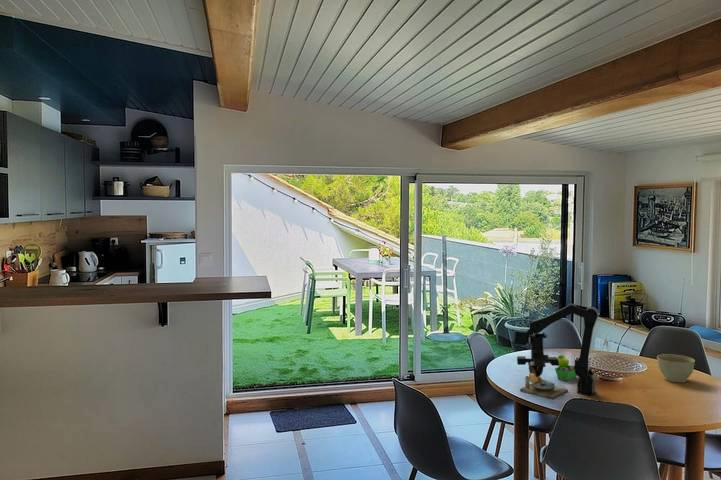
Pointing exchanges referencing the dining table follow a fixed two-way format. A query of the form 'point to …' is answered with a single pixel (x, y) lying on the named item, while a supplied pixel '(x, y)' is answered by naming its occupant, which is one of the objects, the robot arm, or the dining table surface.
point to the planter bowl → (675, 367)
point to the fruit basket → (565, 369)
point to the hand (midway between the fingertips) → (537, 378)
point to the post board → (544, 391)
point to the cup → (533, 369)
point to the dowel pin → (527, 381)
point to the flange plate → (537, 382)
